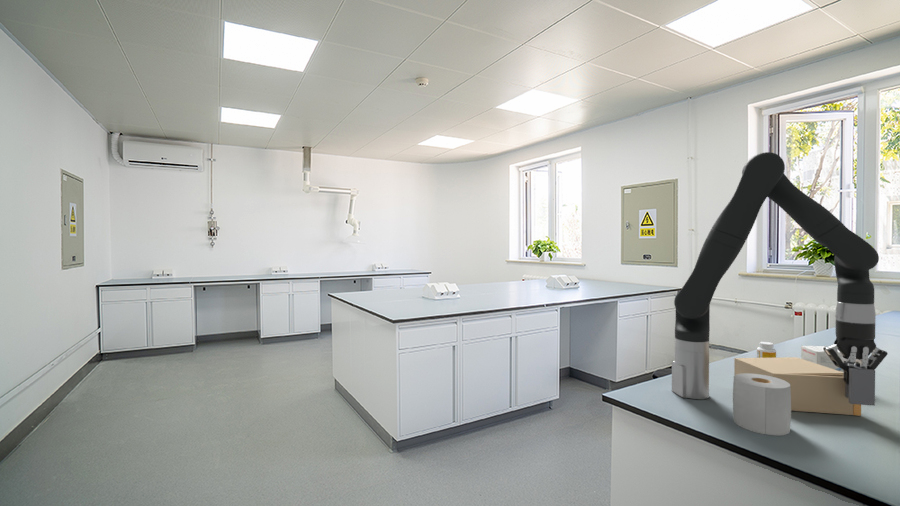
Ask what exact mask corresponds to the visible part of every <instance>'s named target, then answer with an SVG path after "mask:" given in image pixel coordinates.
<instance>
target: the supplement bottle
mask: <svg viewBox="0 0 900 506" xmlns="http://www.w3.org/2000/svg"><path fill="white" fill-rule="evenodd" d="M756 358H777V350H776V349H775V348H774V343H773V342H770V341H769V342H768V341H760V342H759V346H758V347H757V348H756Z"/></svg>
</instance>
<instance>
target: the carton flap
mask: <svg viewBox="0 0 900 506" xmlns="http://www.w3.org/2000/svg"><path fill="white" fill-rule="evenodd" d="M774 377H775V378H779V379H782V380H784V381H786V382H788V383H789V384H790V388H791V412H793V411H795V412H804V413H805V412H806V413H807V412H810V413H820V414H835V415H847V416H849V415H850V416H859V417H860V416H862V405H863V406H873V407H874V406H875V405H876V404H875V403H876V369H875V370H873V369H862V368H860V367H857V366H855V364H854V368H849V385H848V384H846V382H844V377H836V376H818V375H799V374H781V373H774Z"/></svg>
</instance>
